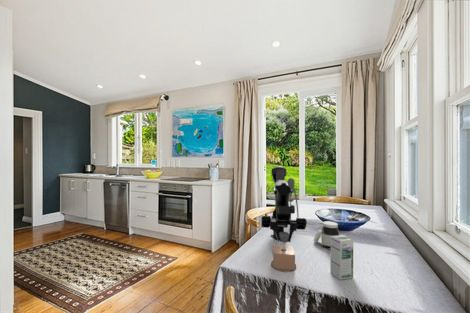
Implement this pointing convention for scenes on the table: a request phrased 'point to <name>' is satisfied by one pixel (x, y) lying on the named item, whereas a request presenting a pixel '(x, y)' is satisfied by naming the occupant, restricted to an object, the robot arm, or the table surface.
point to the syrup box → (341, 257)
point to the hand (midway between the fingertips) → (284, 241)
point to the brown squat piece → (283, 259)
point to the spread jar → (327, 233)
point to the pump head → (283, 239)
